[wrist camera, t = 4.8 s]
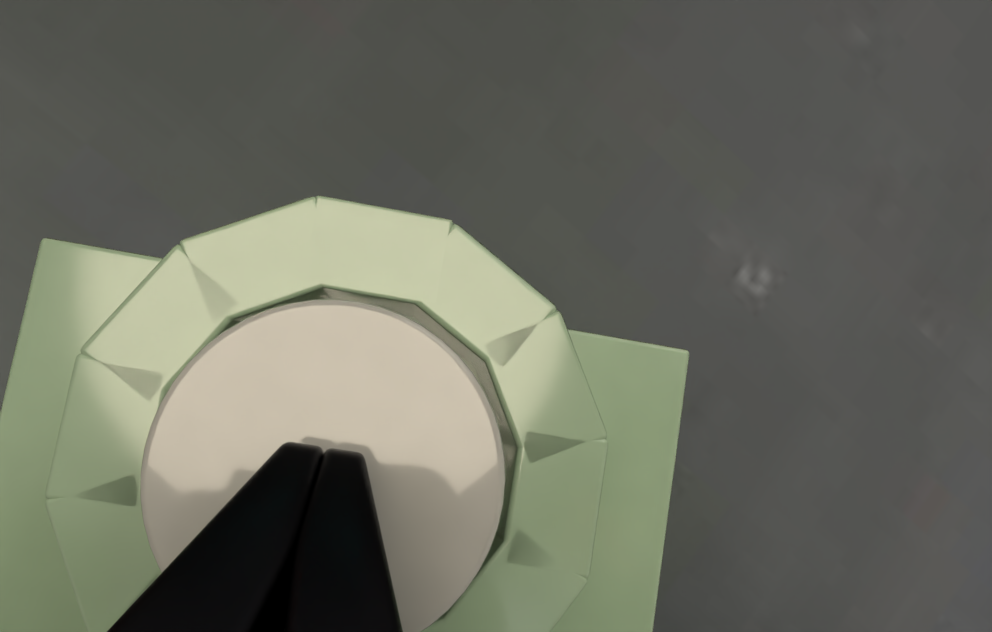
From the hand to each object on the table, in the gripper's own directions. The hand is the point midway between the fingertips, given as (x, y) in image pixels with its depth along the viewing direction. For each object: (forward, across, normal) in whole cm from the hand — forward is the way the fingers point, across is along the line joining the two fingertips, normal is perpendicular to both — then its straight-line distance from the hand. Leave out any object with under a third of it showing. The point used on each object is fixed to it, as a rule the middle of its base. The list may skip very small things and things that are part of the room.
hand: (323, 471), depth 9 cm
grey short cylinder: (+2, 0, +2) cm, 3 cm away
